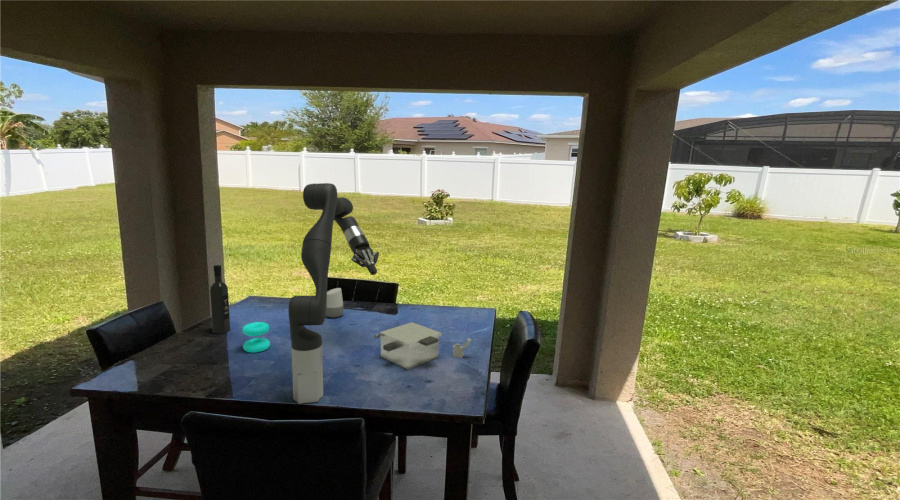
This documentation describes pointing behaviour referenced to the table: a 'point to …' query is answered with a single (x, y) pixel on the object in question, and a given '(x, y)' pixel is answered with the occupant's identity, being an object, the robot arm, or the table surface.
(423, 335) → the lid
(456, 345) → the lighter
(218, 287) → the wine bottle
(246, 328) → the donuts
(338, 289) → the smart speaker
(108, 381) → the table surface
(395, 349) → the grey rectangular box
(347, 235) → the robot arm
